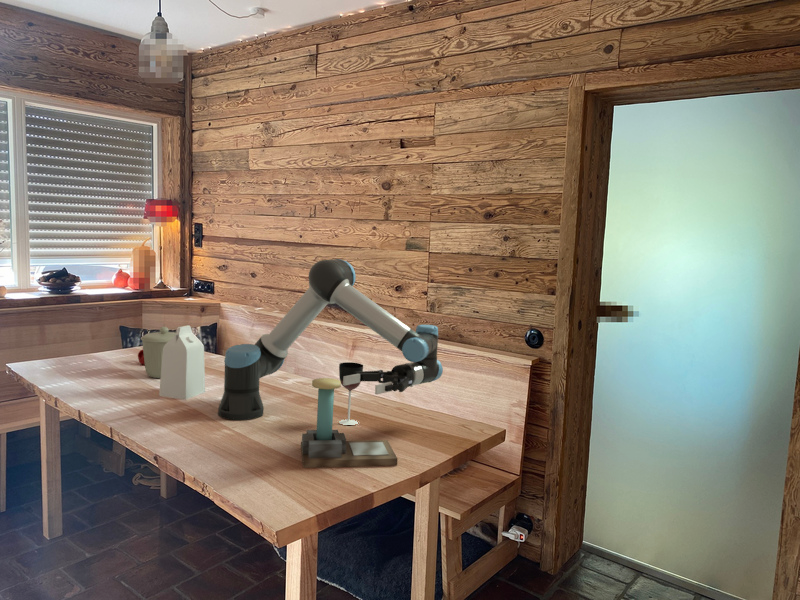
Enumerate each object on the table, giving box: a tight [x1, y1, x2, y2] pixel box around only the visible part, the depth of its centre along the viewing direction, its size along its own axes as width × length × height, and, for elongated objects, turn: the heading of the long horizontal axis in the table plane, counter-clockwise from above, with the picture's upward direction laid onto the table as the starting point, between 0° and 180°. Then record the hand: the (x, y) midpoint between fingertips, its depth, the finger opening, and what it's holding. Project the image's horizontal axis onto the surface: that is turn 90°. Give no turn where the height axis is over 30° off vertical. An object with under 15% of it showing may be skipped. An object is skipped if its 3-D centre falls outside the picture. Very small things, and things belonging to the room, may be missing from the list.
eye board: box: [300, 429, 399, 469], centre depth 167 cm, size 26×15×6 cm, turn 102°
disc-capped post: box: [311, 377, 342, 440], centre depth 165 cm, size 8×8×20 cm
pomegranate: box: [137, 349, 145, 366], centre depth 267 cm, size 10×10×9 cm
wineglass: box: [338, 361, 364, 425], centre depth 198 cm, size 8×9×20 cm
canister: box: [140, 326, 176, 379], centre depth 247 cm, size 18×18×21 cm
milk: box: [158, 324, 206, 401], centre depth 221 cm, size 12×12×26 cm
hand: (359, 385), depth 173 cm, fingers open, 13 cm apart
